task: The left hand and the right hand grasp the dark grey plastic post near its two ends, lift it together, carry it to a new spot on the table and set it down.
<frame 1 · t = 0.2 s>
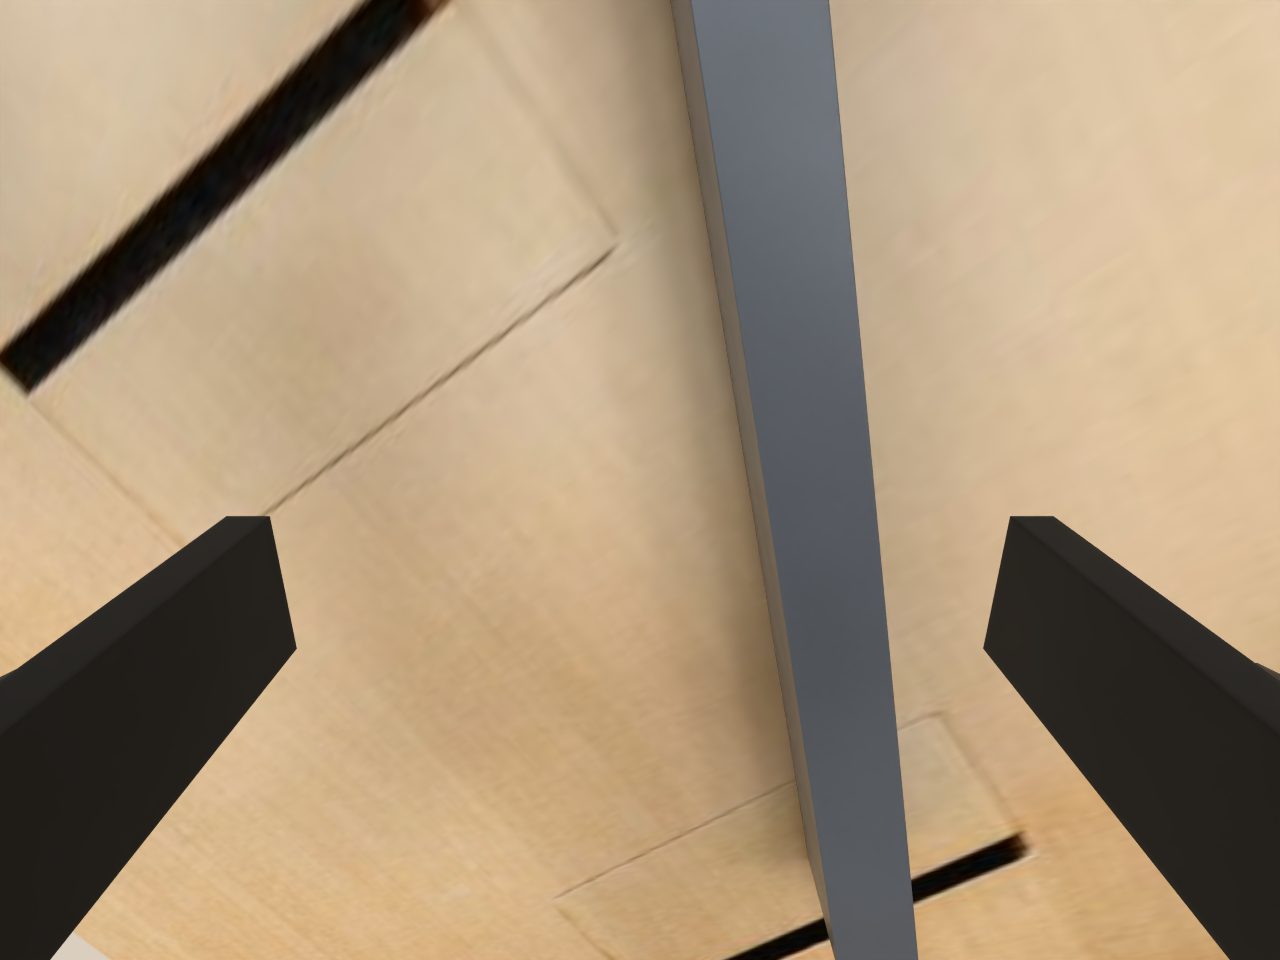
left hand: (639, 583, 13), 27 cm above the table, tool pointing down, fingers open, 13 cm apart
post: (785, 437, 40), on the table
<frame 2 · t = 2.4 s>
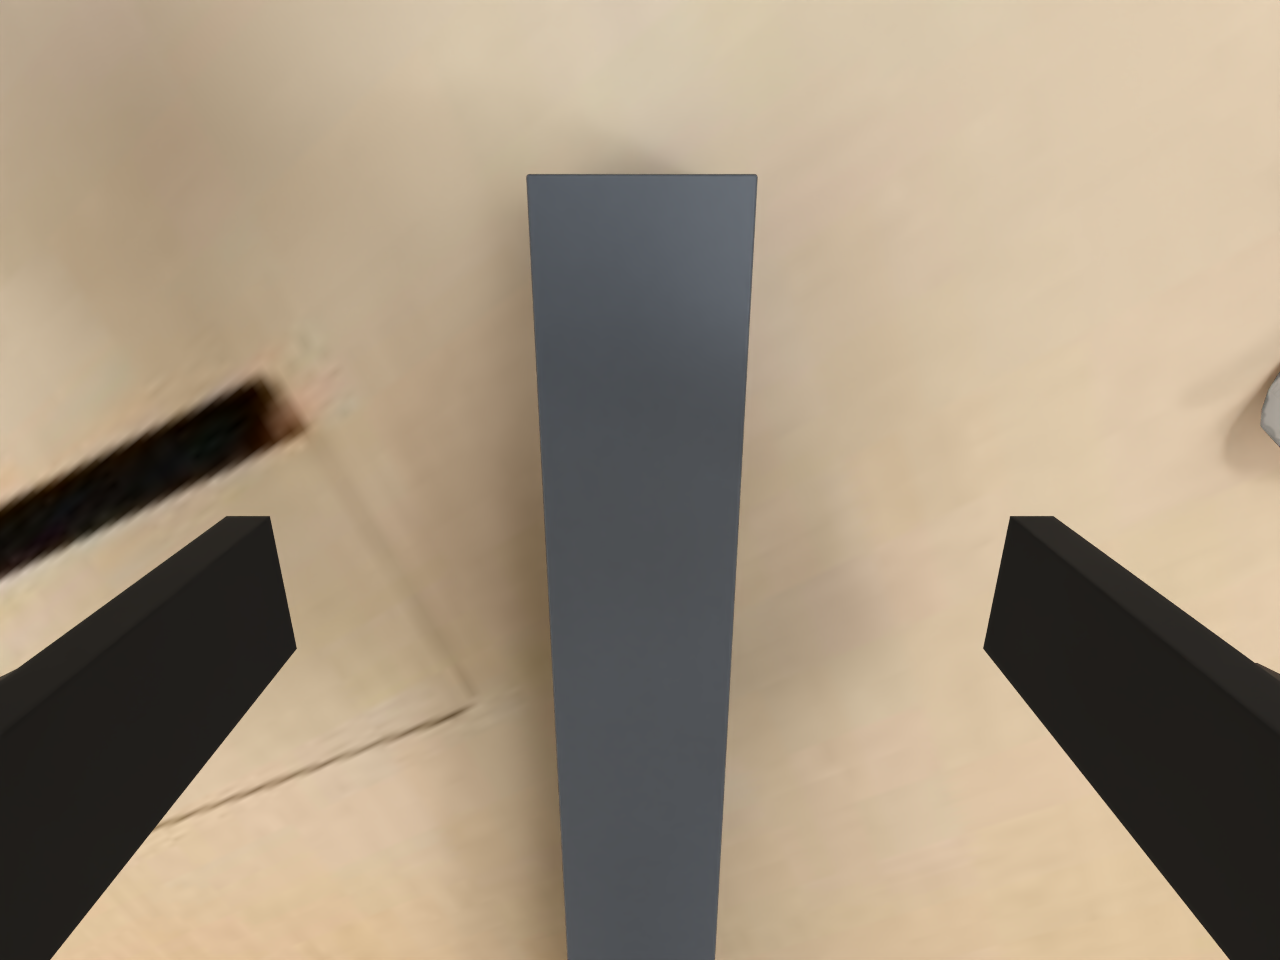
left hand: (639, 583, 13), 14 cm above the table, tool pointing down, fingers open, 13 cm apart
post: (640, 909, 35), on the table, touching right hand
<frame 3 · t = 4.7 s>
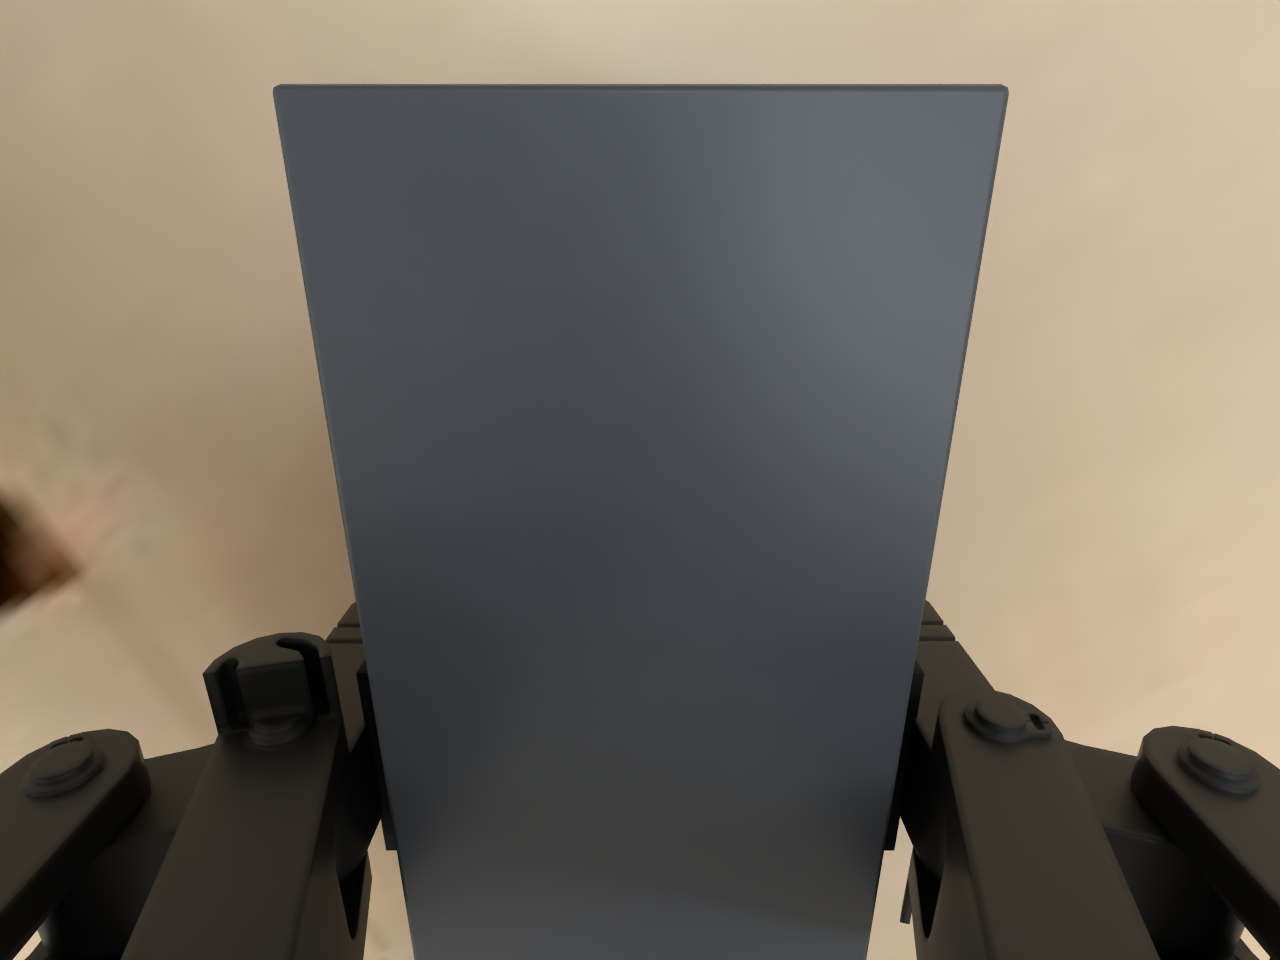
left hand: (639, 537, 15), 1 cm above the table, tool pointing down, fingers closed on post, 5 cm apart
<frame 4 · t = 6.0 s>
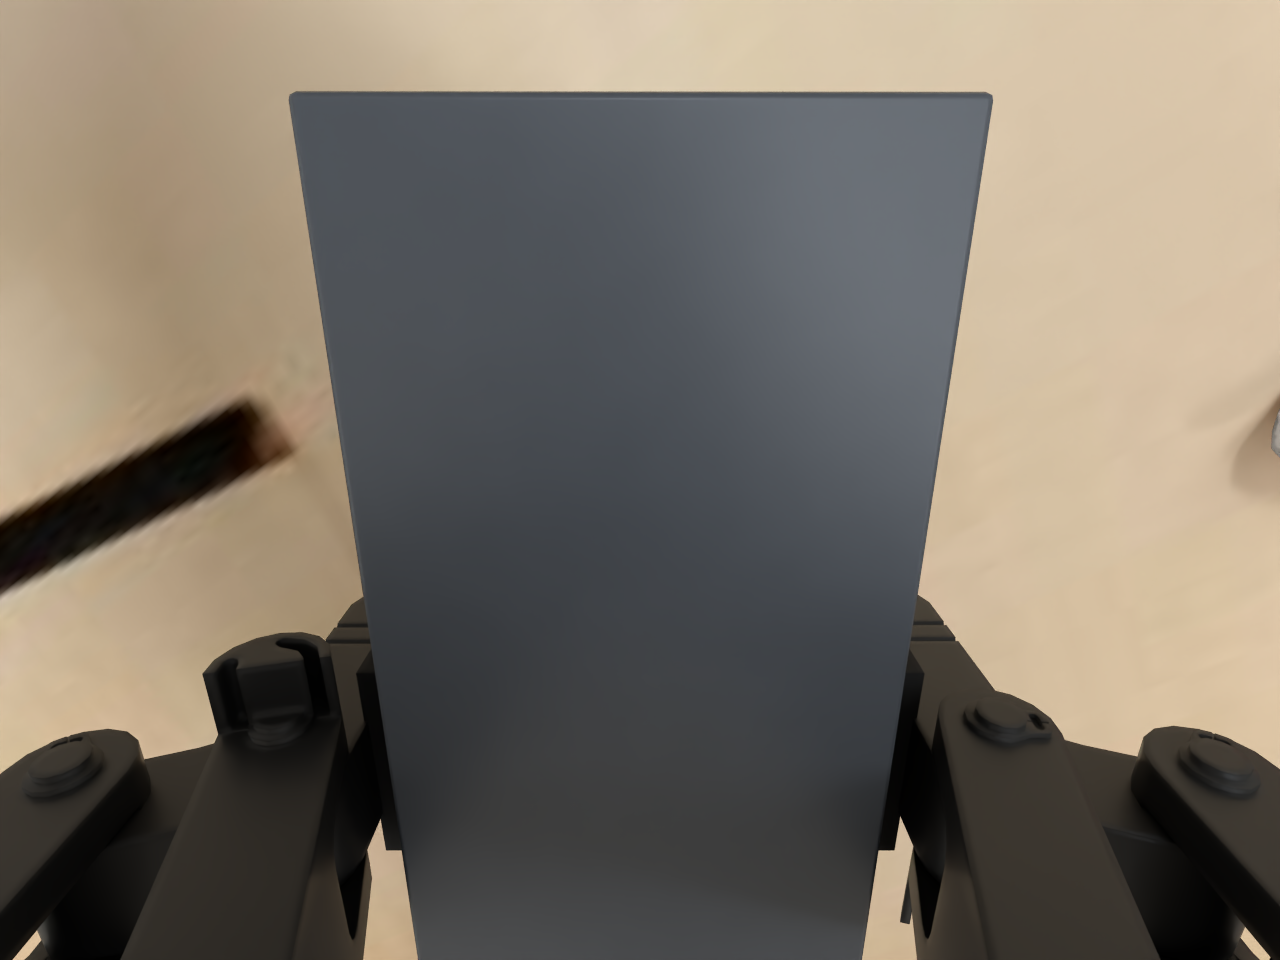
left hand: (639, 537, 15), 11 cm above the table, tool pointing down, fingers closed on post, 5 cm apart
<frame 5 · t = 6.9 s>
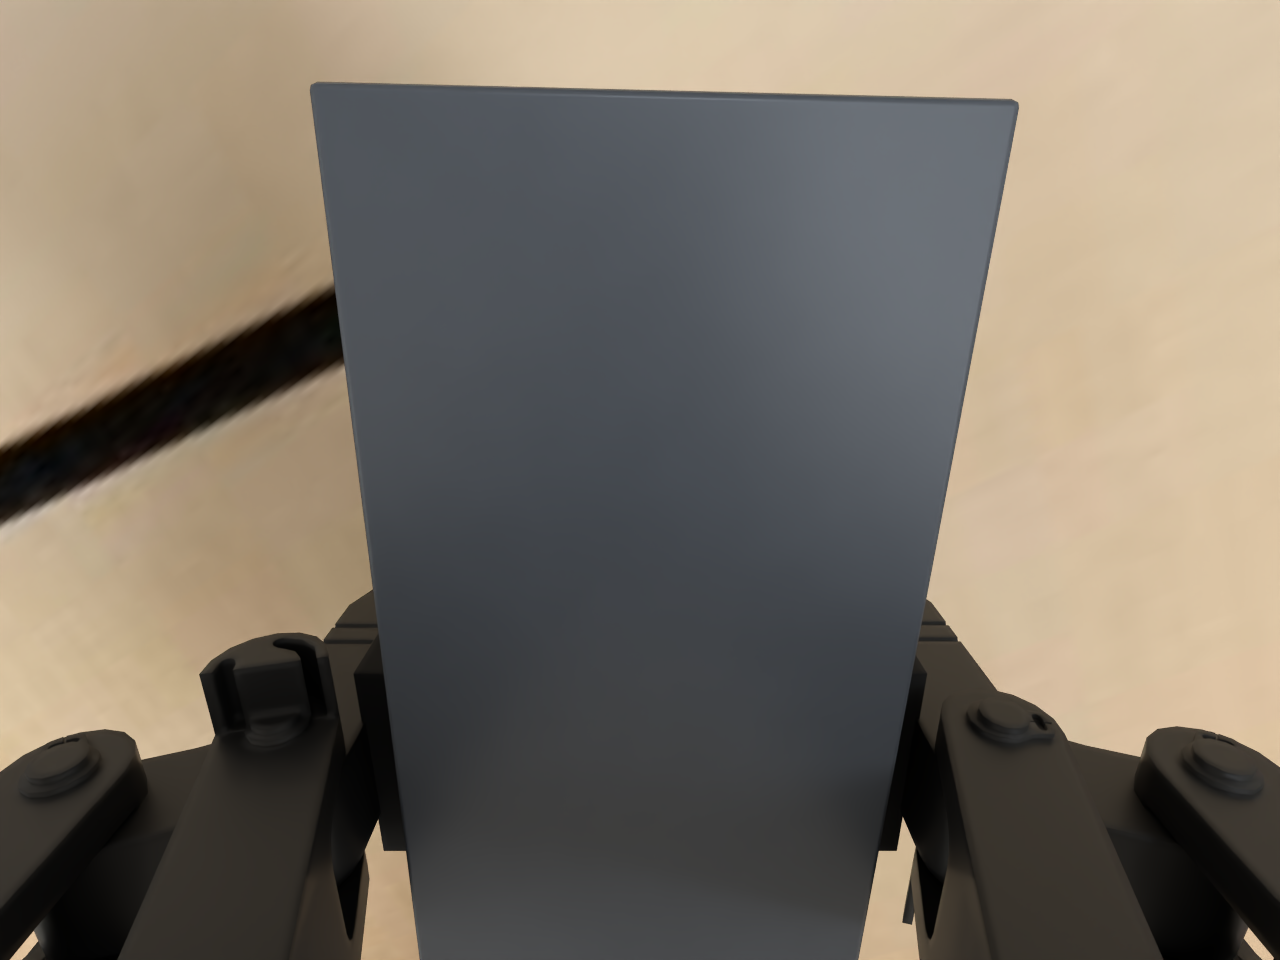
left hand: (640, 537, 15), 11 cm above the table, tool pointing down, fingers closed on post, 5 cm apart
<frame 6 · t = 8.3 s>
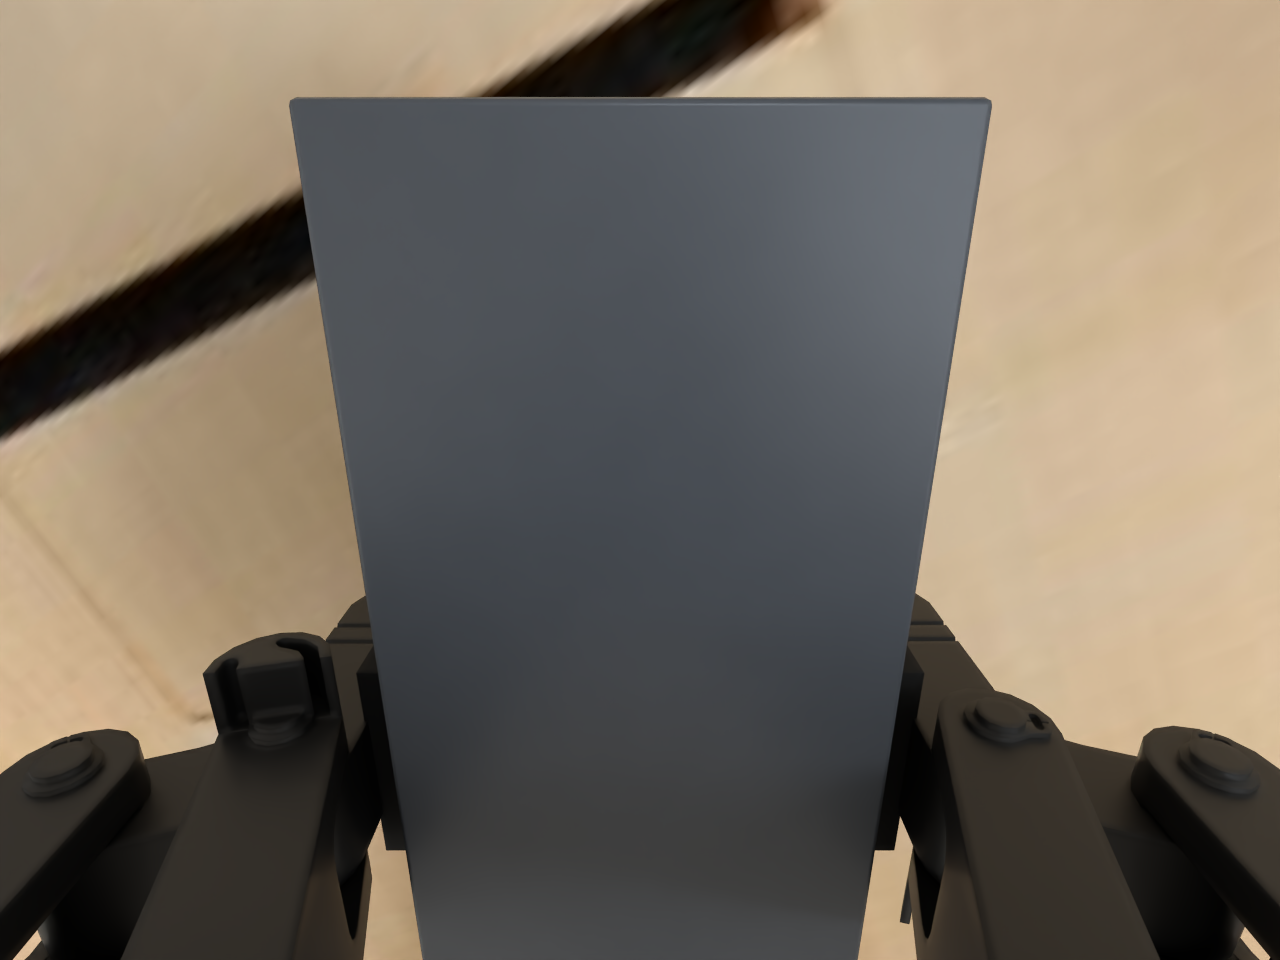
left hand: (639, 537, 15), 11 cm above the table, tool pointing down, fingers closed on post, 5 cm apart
when the left hand's fingers open (2 cm above the table, at t = 9.4 s): post drops 1 cm, on the table.
when the right hand's fingers open (5 cm above the table, at t = 9.6 s): post stays where it is, on the table.
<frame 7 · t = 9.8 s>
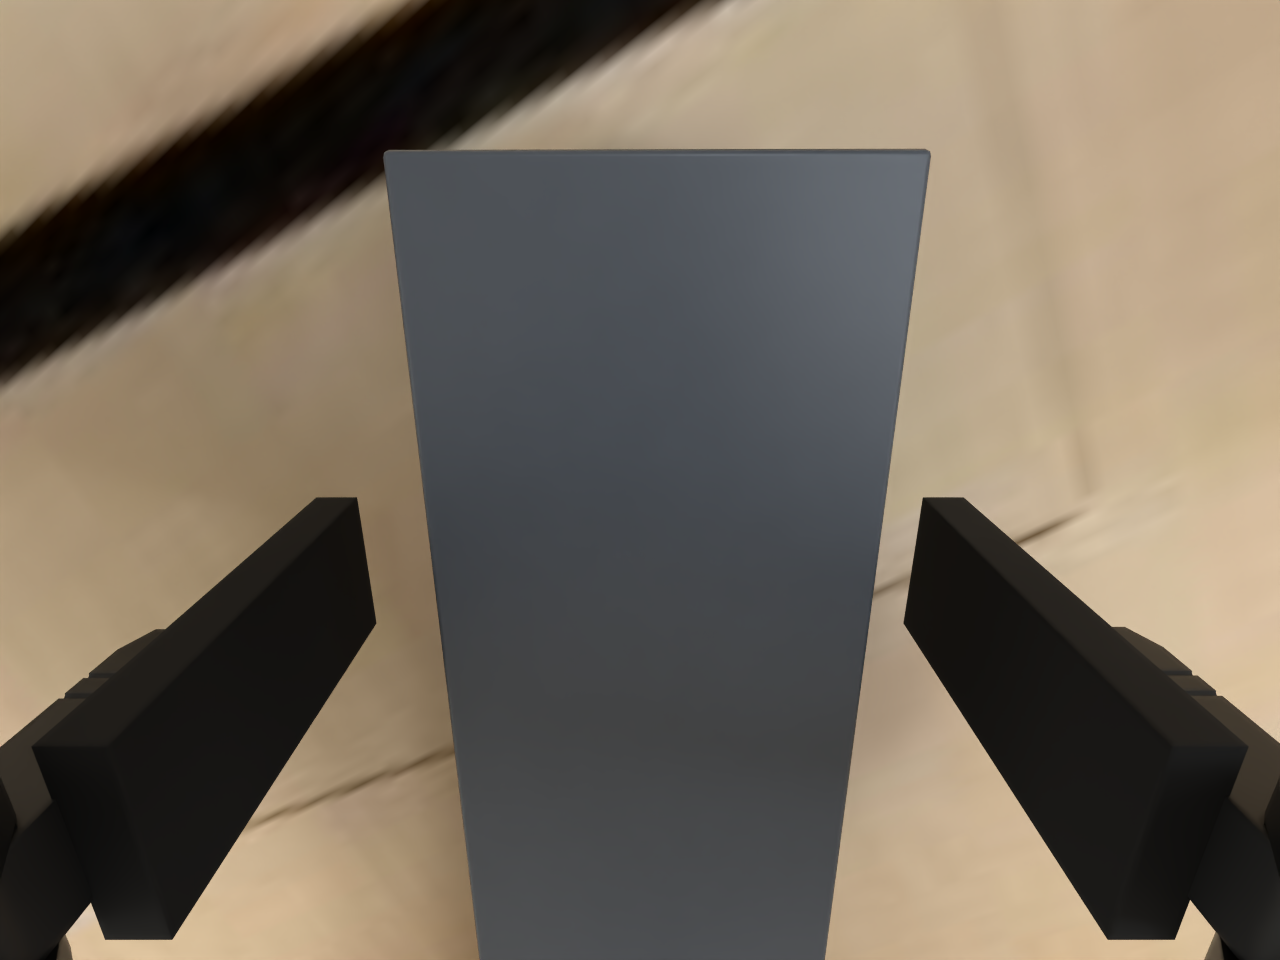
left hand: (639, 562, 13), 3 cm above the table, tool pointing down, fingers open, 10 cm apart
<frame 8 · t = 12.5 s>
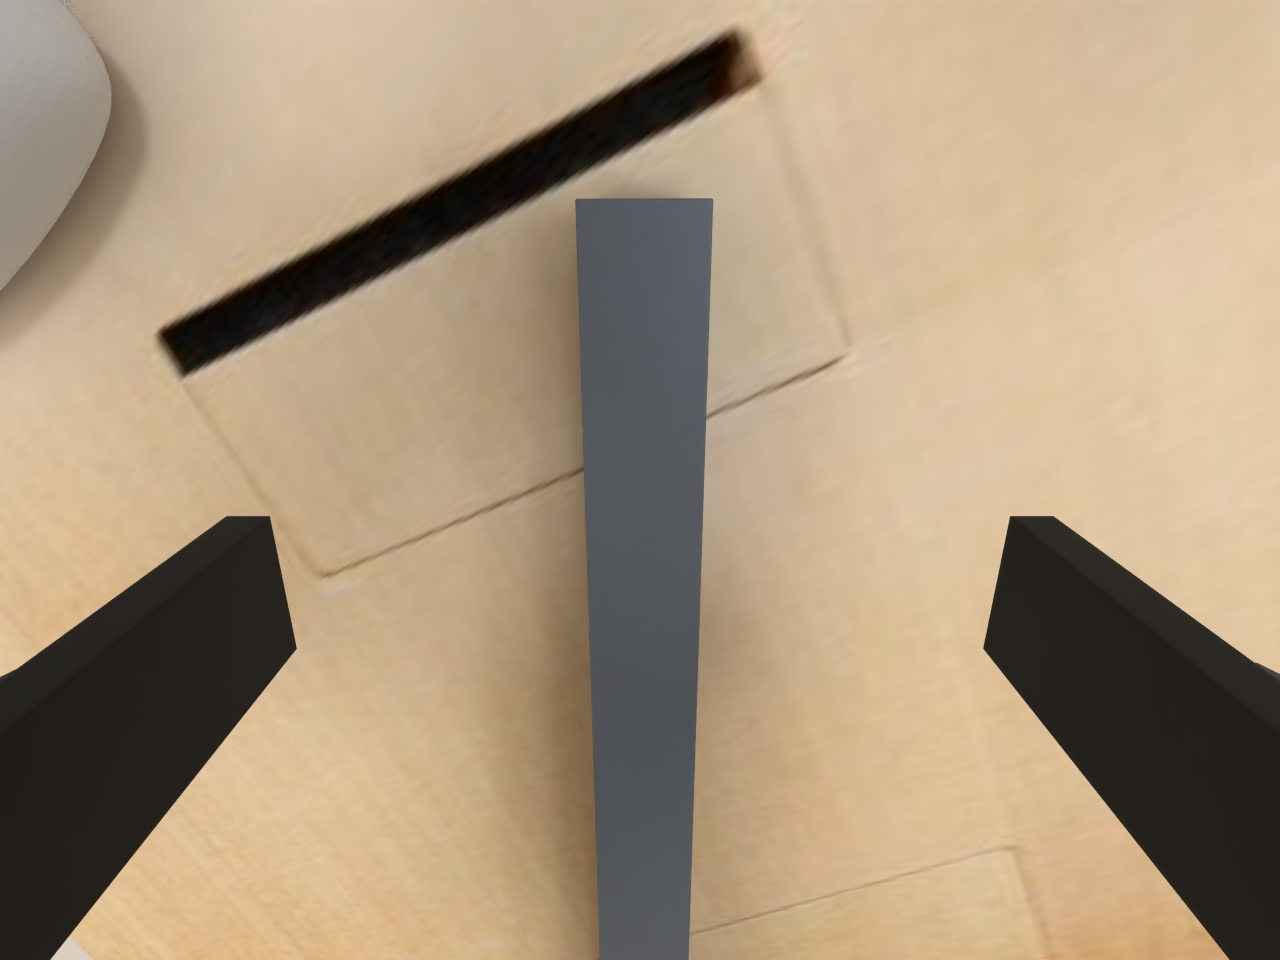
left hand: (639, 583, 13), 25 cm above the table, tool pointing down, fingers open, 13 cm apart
post: (643, 753, 45), on the table
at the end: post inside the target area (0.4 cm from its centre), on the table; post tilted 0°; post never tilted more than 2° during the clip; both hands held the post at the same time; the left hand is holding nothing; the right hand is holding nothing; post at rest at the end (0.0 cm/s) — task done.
